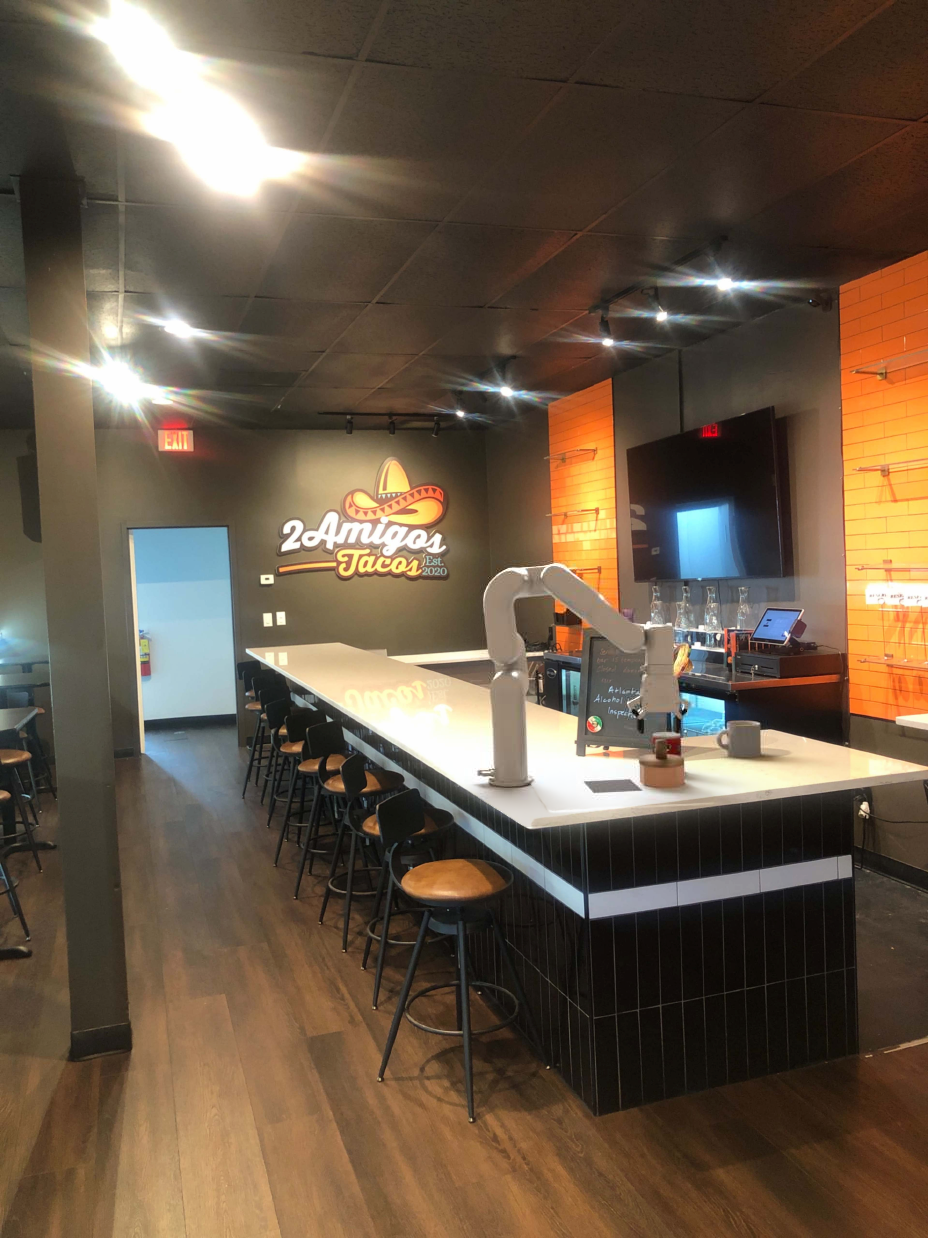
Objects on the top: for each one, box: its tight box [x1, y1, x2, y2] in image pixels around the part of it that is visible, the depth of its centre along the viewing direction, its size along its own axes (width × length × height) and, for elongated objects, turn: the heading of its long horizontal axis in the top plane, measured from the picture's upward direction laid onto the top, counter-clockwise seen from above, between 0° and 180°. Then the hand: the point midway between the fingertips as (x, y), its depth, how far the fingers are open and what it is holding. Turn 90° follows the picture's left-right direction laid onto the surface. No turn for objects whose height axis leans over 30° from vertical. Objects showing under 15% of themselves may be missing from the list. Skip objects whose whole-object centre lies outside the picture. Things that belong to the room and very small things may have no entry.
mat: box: [583, 778, 643, 794], centre depth 243 cm, size 13×13×1 cm
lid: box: [638, 739, 685, 768], centre depth 244 cm, size 12×12×6 cm
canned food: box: [652, 731, 682, 757], centre depth 260 cm, size 8×8×11 cm
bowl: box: [639, 763, 686, 788], centre depth 245 cm, size 11×11×6 cm
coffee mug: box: [716, 720, 762, 759], centre depth 280 cm, size 13×10×10 cm
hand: (658, 733), depth 244 cm, fingers open, 9 cm apart
